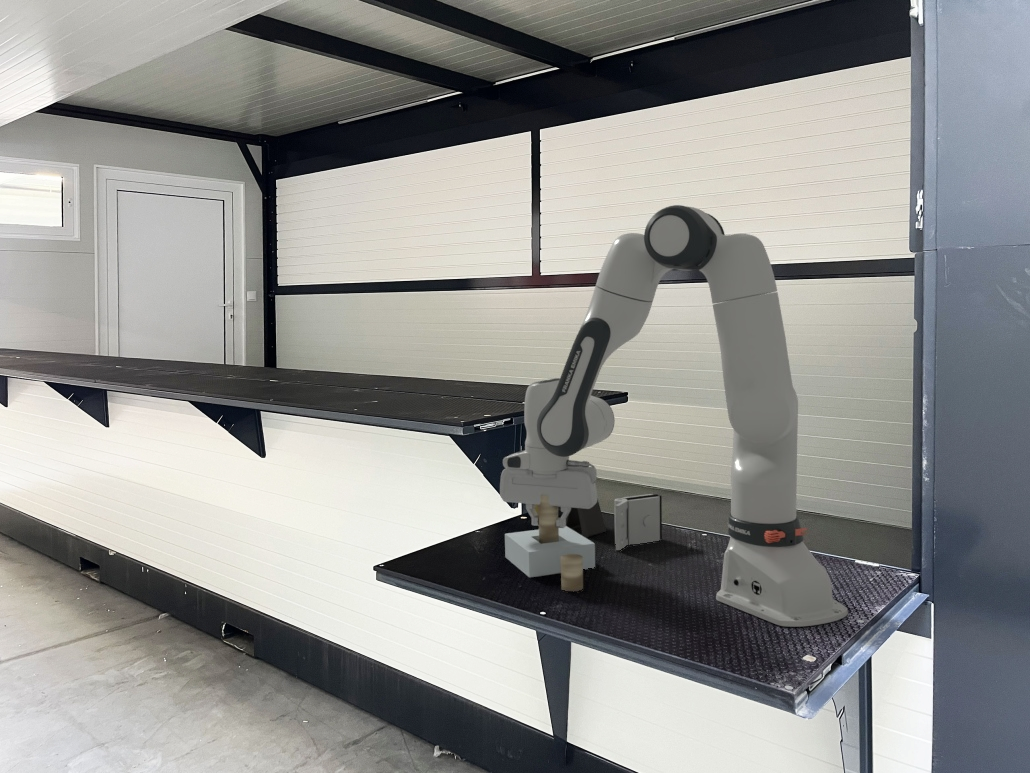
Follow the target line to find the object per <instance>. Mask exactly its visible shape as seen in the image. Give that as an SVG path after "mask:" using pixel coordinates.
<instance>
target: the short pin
mask: <svg viewBox="0 0 1030 773" xmlns="http://www.w3.org/2000/svg"><path fill="white" fill-rule="evenodd" d="M560 576H561V578H560V581H561V585H560V587H561V588H560V589H561V591H562V590H565V591H573V592H574V591H579V590H582V589H583V590H584V570H583V557H582V556H581V555H578V554H566V555H563V556H561V573H560ZM583 590H582V591H583Z"/></svg>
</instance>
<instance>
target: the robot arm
mask: <svg viewBox="0 0 1030 773" xmlns="http://www.w3.org/2000/svg"><path fill="white" fill-rule="evenodd" d="M772 267H773V266H772V264H771V261H770V258H769V255H768V252H767V249H766V247H765V245H764V242H762V240H761V239H760V238H758V237H757V236H755V235H753V234H749V233H748V234H747V233H734V234H733V233H732V234H728V235H727V234H725V230H724V227H723V226H722V224H721V223H720V222H719V220H718V219H716V218H715V217H714V216H713V215H711V214H709V213H707V212H705V211H704V210H701V209H700V208H697V207H692V206H688V205H687V206H686V205H680V204H677V205H676V204H675V205H670V206H666V207H663V208H661V209H660V210H658V211H657V212H656V213H654V214H653V215H652V216H651V218H650V219H649V221H647V224H646V226H645V229H644V233H637V232H629V233H628V232H627V233H623V234H622V235H620V236H618V237H617V238H615V240H614V241H613V242H612V244H611V246H610V248H609V250H608V252H607V255H606V256H605V259H604V261H603V264H602V266H601V269H600V271H599V273H598V277H597V280H596V283H595V286H594V290H593V293H592V295H591V296H592V297H591V300H590V302H589V305H588V309H587V310H586V311H587V312H586V314H585V317H584V319H583V321H582V324H581V326H580V327H579V330H578V333H577V334H576V337H575V339H574V341H573V344H572V346H571V348H570V351H569V353H568V356H567V360H566V362H565V364H564V367H563V370H562V373H561V376H560V378H556V377H555V378H551V379H543V380H539V381H534V382H532V383H530V384H529V386H527V389H526V391H525V396H524V413H523V415H524V418H523V419H524V426H525V430H526V438H525V441H524V449H523V450H520V451H517V452H515V453H511V454H509V455H508V456H505V457H503V459H502V466H503V467H504V469H503V470H502V472H501V473H500V474H501V475H500V482H499V495H500V498H501V500H502V501H503V502H505V503H517V504H525V509H526V511H527V513H528V515H529V516H530V518H531V525H532V526H538V527H539V515H537V513H536V511H535V509H534V507H536V504H537V505H540V503H541V496H540V495H549V504H550V505H551V506H558V507H559V508H560V512H562V514H561V516H560V517H559V516H558V519H556V523H557V524H556V527H557V528H565V527H566V518H567V516H568V514H569V512H570V511H571V507H572V508H583V509H590V508H592V507H593V506H594V505H595V504H596V503H597V498H598V489H597V469H596V467H595V465H593V464H592V463H590V462H589V461H587V460H586V461H585V460H583V461H579V460H572V459H571V460H570V456H573V455H574V454H577V453H578V452H580V451H582V450H583V449H584V450H585V449H587V448H590V447H592V446H594V445H596V444H599V443H602V442H604V441H605V440H606V439H607V438H609V437H610V436H611V434H612V433H613V431H614V427H615V415H614V411H613V409H612V407H611V406H610V404H609V402H607V401H606V400H605V399H603V398H600V397H598V396H593V395H592V393H593V390H594V389H595V385H596V383H597V380H598V377H599V375H600V372H601V369H602V368H603V366H604V364H605V362H606V361H607V360H608V358H610V356H611V355H612V354H614V352H615V351H617V350H618V349H620V347H622V346H623V345H625V344H626V343H628V342H629V341H631V340H633V339H634V338H636V337H637V336H638V334H640V332H641V330H642V329H643V327H644V325H645V323H646V321H647V319H648V316H649V314H650V311H651V309H652V306H653V301H654V298H655V295H656V292H657V289H658V286H659V283H660V281H661V279H662V278H663V277H664V275H665V274H666V273H667V272H669V271H682V272H683V271H684V272H687V271H689V272H690V271H699V272H700V273H702V274H703V276H704V277H705V279H706V281H707V284H708V288H709V291H710V297H711V303H712V309H713V310H712V311H713V315H714V319H715V326H716V332H717V336H718V341H719V342H718V343H719V349H720V358H721V359H720V360H721V369H722V370H721V371H722V380H723V385H724V386H723V387H724V395H725V402H726V409H727V414H728V419H729V423H730V425H731V427H732V429H733V438H732V440H733V441H732V442H733V443H732V454H731V455H732V457H731V468H730V473H731V474H730V513H728V520H727V528H728V529H727V533H728V535H729V536H730V537H729V542H728V544H727V548H726V550H725V552H724V553H723V554H724V555H723V562H722V564H723V565H722V572H721V573H722V574H721V586H720V590H719V591H717V592H716V596H715V600H716V601H718V602H719V603H723V604H725V605H728V606H730V607H732V608H734V609H738V610H740V611H742V612H745V613H747V614H750V615H752V616H755V617H757V618H760V619H762V620H765V621H767V622H769V623H772V624H775V625H777V626H781V627H791V628H792V627H798V628H799V627H809V626H811V627H812V626H818V625H823V624H829V623H833V622H837V621H840V620H841V619H844V618H845V617H847V616H848V615H849V611H848V610H849V609H848V608H847V606H845V605H843V604H842V603H840V602H839V601H837V600H836V599H835V598H833V588H832V587H833V586H832V581H831V577H830V575H829V574H828V572H827V568H826V567H825V566H824V565H822V564H820V563H819V561H818V560H817V559H816V558H815V556H814V555H813V553H812V552H811V551H810V549H809V548H808V547H807V546H806V544H805V542H804V539H805V538H804V535H808V533H807V532H804V531H807V530H808V528H807V527H801V523H800V520H799V517H798V516H797V482H798V481H797V478H798V476H797V474H798V472H797V469H798V431H799V430H798V428H799V427H798V426H799V422H798V420H799V419H798V418H799V401H798V400H799V399H798V398H799V397H798V395H797V393H796V390H795V389H794V386H793V380H792V374H791V367H790V361H789V354H788V353H789V352H788V345H787V339H786V333H785V332H786V331H785V328H784V327H785V326H784V322H783V317H782V310H781V305H780V299H779V293H778V289H777V288H778V287H777V283H776V277H775V275H774V274H775V273H774V271H773V268H772ZM595 482H596V483H595Z"/></svg>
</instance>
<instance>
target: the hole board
mask: <svg viewBox="0 0 1030 773" xmlns="http://www.w3.org/2000/svg"><path fill="white" fill-rule="evenodd" d="M504 548H505V549H504V552H505V554H504V555H505V556H504V558H506V559H507V560H508V561H509V562H510V563H511V564H513V565H514V566H515V567H516V568H517V569H518V570H520V571H521V572H522V573H524V574H525V575H526V576H527V577H528V578H534V577H535V578H536V577H542V576H550V575H556V574H561V556H563V555H566V554H578V555H581V556H582V557H583V569H585V570H589V569H588V568H592V569H595V568H596V544H595V543H594V542H593V541H592V540H590V539H588V538H587V537H583V536H582V535H580V534H578V533H577V532H575V531H574V530H572V529H570V528H569V527H567V526H566V527H565V528H559V542H551V543H543V544H541V543H539V529H534V530H533V529H532V530H524V531H514V532H508V533H504ZM594 567H595V568H594Z"/></svg>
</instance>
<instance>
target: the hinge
mask: <svg viewBox="0 0 1030 773" xmlns="http://www.w3.org/2000/svg"><path fill="white" fill-rule="evenodd" d="M662 499H663V498H662V495H659V494H657V493H654V494H653V493H648V494H638V495H632V496H630V495H629V496H623V497H621V498H619V497H618V498H615V499H614V508H613V510H614V545H615V544H616V545H615V551H616V550H621V549H622V548H624V547H625V546H626V545H628V544H629V545H630V544H640V543H647V542H653V541H659V540H660V539H662V540H663V531H662V530H663V525H662V524H663V523H662V520H663V519H662V518H663V515H662V513H663V511H662V506H663V505H662ZM660 541H661V540H660ZM653 543H654V542H653ZM647 544H648V543H647ZM640 545H641V544H640ZM624 549H625V548H624ZM621 551H622V550H621Z"/></svg>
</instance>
